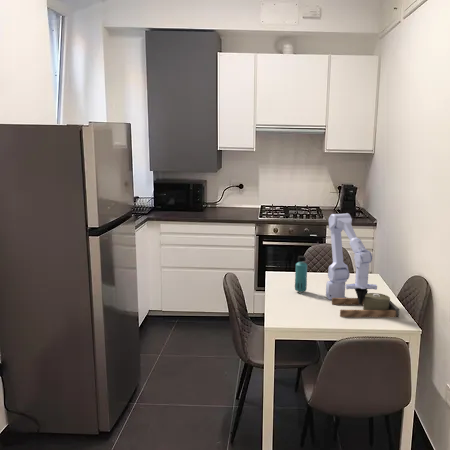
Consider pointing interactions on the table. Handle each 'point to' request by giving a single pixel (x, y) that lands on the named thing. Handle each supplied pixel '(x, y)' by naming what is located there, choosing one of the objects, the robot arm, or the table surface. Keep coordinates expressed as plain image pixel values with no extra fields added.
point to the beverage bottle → (301, 274)
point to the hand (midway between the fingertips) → (360, 303)
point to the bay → (391, 312)
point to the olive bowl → (376, 301)
